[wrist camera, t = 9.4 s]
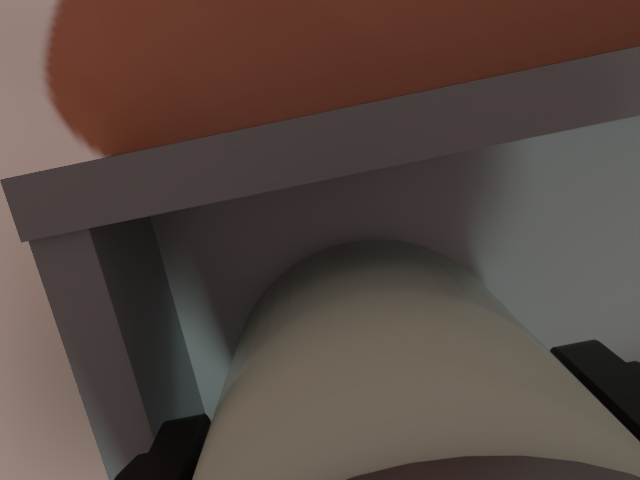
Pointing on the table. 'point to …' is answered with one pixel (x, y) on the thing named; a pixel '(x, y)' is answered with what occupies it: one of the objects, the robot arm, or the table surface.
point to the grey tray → (338, 227)
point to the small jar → (402, 382)
